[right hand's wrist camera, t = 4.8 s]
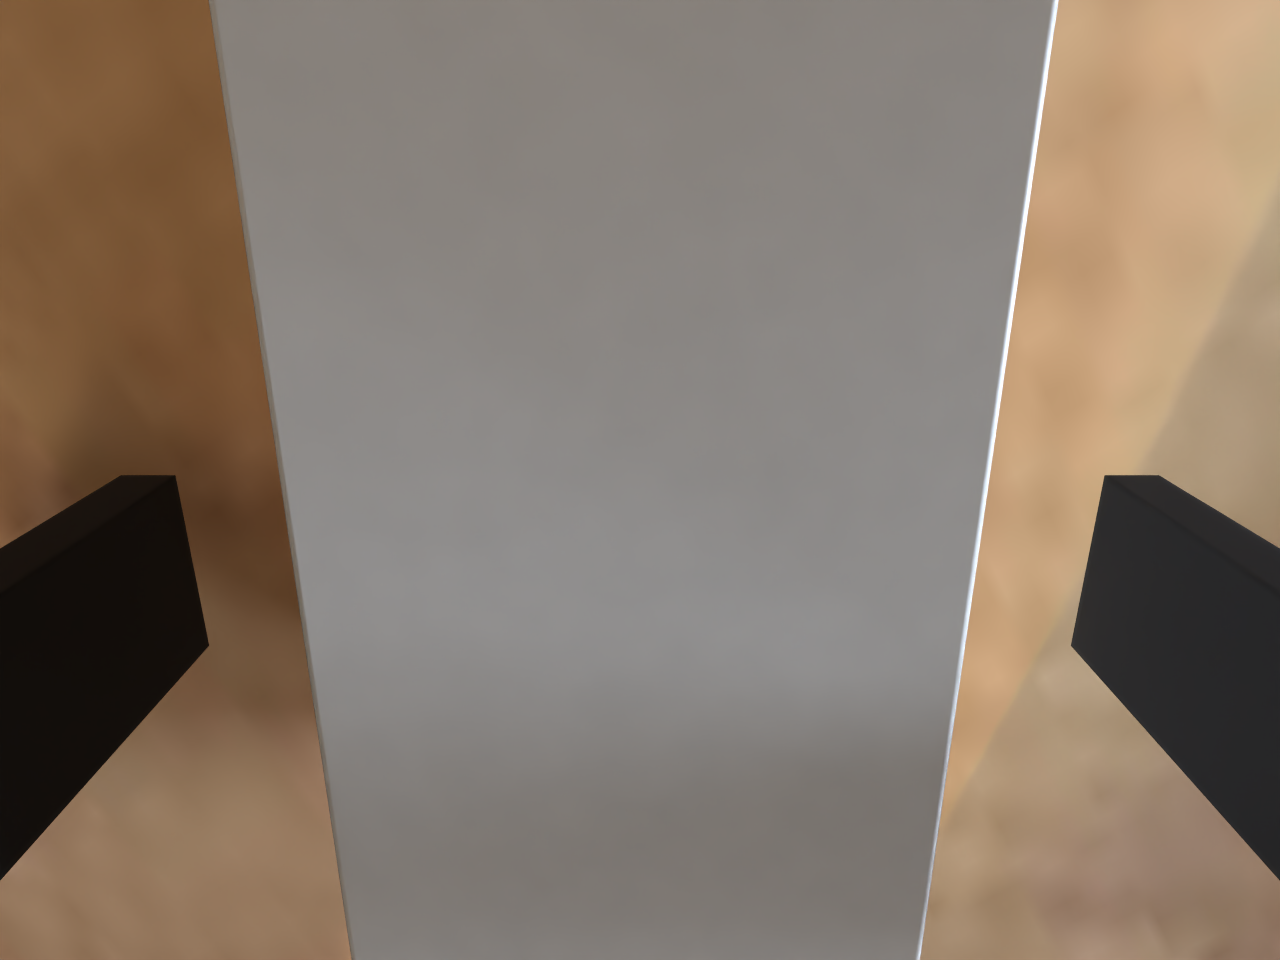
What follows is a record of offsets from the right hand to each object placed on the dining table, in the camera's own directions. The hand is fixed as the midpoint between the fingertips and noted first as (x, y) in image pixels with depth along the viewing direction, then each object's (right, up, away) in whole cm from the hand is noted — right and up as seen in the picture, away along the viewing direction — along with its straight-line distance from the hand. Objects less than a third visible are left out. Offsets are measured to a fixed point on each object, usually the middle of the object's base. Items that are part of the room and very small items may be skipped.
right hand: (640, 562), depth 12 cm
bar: (0, +20, -4) cm, 21 cm away
